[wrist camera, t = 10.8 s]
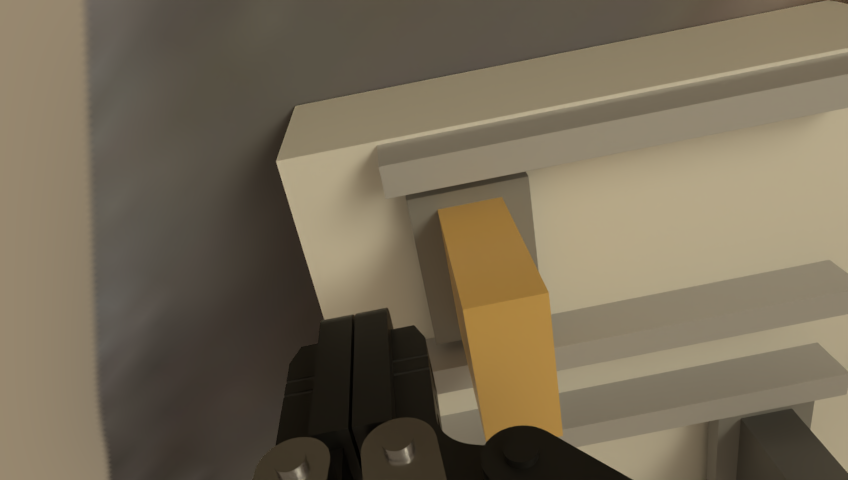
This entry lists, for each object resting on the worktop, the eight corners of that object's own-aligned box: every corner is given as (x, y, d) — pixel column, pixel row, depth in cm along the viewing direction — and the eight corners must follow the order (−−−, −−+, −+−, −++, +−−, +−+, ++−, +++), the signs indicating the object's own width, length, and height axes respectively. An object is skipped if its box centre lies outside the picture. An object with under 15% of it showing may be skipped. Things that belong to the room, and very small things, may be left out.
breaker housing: (828, 0, 20) (1018, 35, 14) (782, 388, 27) (895, 515, 22) (294, 105, 20) (267, 184, 14) (394, 464, 27) (403, 611, 22)
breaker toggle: (523, 167, 16) (585, 266, 11) (538, 311, 18) (596, 443, 13) (404, 191, 16) (421, 299, 11) (434, 331, 18) (457, 470, 13)
